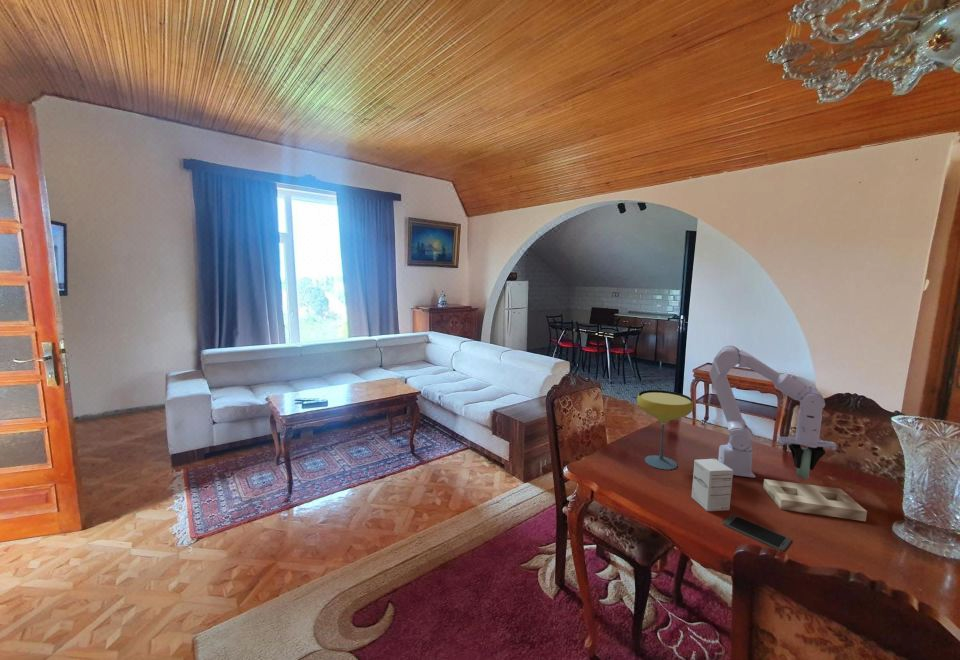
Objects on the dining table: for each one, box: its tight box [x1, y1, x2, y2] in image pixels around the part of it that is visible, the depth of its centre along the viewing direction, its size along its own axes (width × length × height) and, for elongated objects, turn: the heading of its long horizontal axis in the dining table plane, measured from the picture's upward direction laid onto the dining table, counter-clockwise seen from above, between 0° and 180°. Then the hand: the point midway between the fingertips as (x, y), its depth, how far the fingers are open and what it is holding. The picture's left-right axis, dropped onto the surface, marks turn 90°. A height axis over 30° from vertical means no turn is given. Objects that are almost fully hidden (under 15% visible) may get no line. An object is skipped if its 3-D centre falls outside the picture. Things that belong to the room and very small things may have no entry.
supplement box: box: [691, 458, 734, 512], centre depth 113 cm, size 7×7×13 cm
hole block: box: [762, 478, 868, 522], centre depth 114 cm, size 20×12×3 cm, turn 73°
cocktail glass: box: [636, 389, 694, 471], centre depth 138 cm, size 18×18×25 cm
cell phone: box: [721, 513, 793, 553], centre depth 101 cm, size 7×14×1 cm, turn 37°
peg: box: [796, 447, 812, 480], centre depth 122 cm, size 3×3×9 cm
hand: (803, 467), depth 122 cm, fingers closed on peg, 3 cm apart
